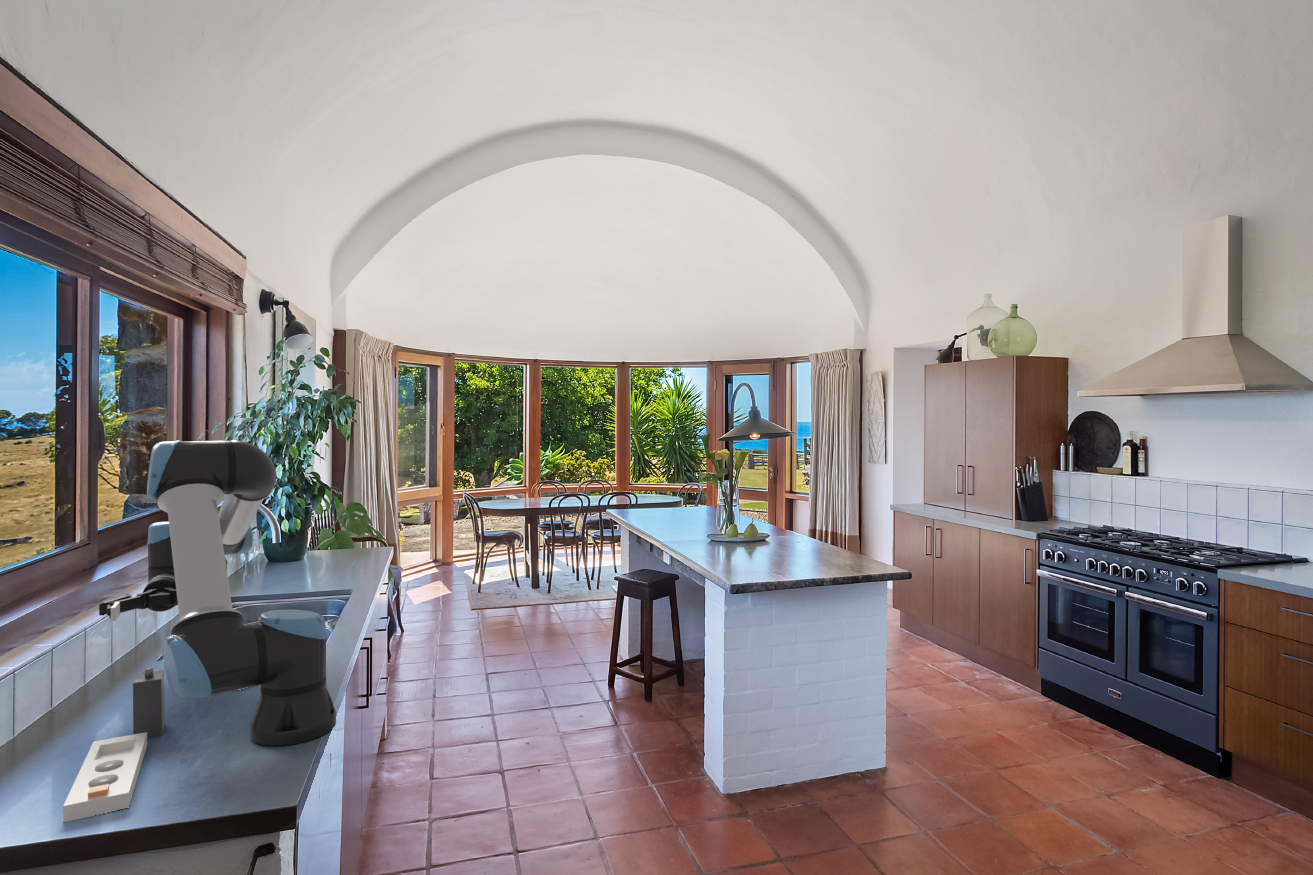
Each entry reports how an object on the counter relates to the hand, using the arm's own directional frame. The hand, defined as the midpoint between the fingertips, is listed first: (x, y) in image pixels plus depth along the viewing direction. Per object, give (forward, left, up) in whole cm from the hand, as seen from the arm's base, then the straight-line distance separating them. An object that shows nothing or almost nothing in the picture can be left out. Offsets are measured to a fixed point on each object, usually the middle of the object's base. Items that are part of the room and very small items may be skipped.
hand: (153, 609), depth 150 cm
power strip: (-24, +19, -22) cm, 37 cm away
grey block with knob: (-9, +5, -22) cm, 24 cm away
